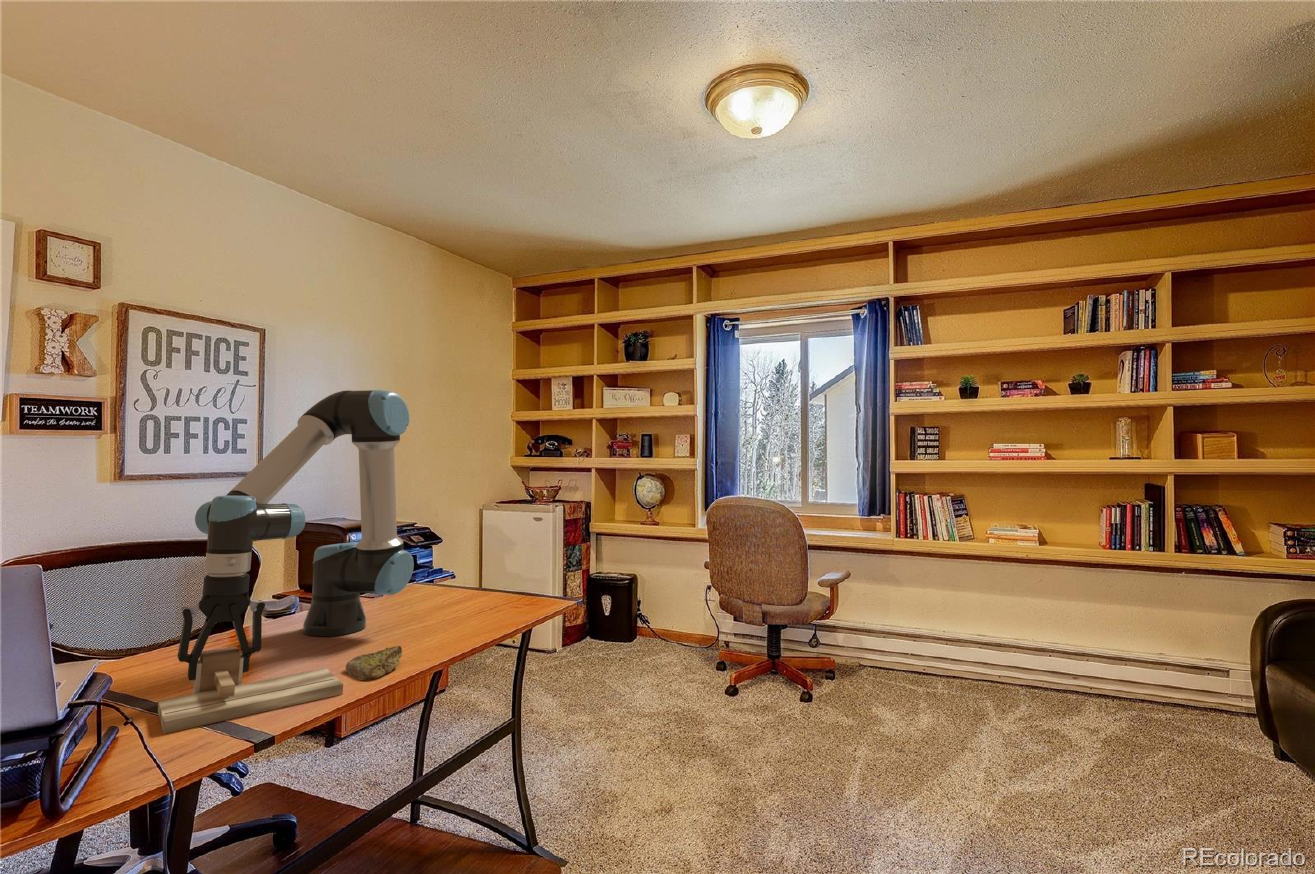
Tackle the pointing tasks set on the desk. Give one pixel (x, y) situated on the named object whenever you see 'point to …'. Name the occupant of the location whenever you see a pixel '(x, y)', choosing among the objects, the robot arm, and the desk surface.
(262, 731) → the desk surface
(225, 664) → the brown blocky t-shaped piece
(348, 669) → the rock
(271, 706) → the board
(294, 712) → the desk surface
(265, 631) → the desk surface
